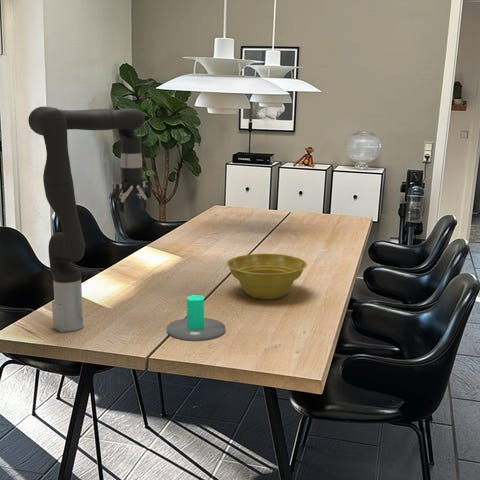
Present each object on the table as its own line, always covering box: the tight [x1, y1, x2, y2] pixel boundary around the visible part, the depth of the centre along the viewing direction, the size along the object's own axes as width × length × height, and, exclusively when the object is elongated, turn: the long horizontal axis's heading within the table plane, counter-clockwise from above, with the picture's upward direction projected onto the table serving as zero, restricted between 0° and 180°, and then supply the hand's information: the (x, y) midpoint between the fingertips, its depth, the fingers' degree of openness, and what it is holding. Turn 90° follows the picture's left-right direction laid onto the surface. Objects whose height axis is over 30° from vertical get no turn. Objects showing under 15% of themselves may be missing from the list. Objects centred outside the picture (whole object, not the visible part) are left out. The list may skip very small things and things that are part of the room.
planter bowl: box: [226, 253, 308, 300], centre depth 271 cm, size 32×32×13 cm
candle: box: [186, 293, 205, 330], centre depth 229 cm, size 6×6×12 cm
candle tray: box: [166, 317, 226, 342], centre depth 230 cm, size 20×20×1 cm
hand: (132, 211), depth 240 cm, fingers open, 8 cm apart
